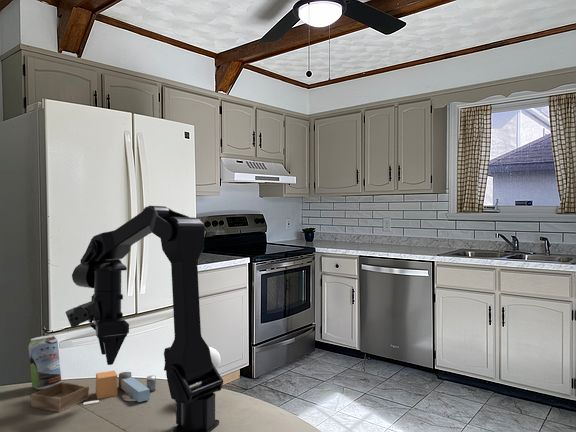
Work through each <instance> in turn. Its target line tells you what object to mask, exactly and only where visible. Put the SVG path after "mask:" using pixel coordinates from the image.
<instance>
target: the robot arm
mask: <svg viewBox="0 0 576 432" xmlns="http://www.w3.org/2000/svg"><path fill="white" fill-rule="evenodd" d="M150 234H153V235H155V236H156V237H158V238H159V239H160V243H161V250H162V252H163V253H164V254H165V257H166V258H167V259H168V261H169V262H170V266H171V270H170V271H171V286H172V287H171V289H172V309H173V311H172V312H173V328H174V339H173V342H172V344H171V345H170V346H169V347H165V348H164V351H163V357H164V358H163V359H164V368H163V371H164V372H166V374H165V375H166V380H167V385H168V390H169V394H170V398H171V399H172V400H174V401H175V424H176V426H174V427H173V428H172V432H211V431H212V430H213V429H214V428H215V427H217V426H218V425H219V424H220V420H219V419H216V392H219V391H222V388H223V385H224V380H223V377H222V375H220V373H219V371H218V370H216V368H215V366H214V365H213V363H212V360H211V354H210V349H209V347H210V346H209V345H208V344H207V343H206V341H205V340H204V338H203V336H202V327H201V308H200V290H199V286H200V285H199V276H198V275H199V271H198V267H199V266H198V261H199V259H200V257H201V255H202V253H203V251H204V249H205V238H206V228H205V224H204V223H203V222H202V221H201V220H200V219H199V218H198V217H192V216H191V217H190V216H188V215H185V214H183V213H180V212H177V211H174V210H173V209H171V208H169V207H167V206H163V205H147V206H145V207H144V208H143V209H142V211H141V212H140V213H138V214H137V215H135V216H133V217H132V218H131V219H129V220H128V221H126V222H125V223H123V224H122V225H121V226H119V227H117V228H116V229H114V230H111V231H106V232H100V233H99V234H95V235H94V236H92V238H91V239H90V241H89V244H88V245H87V248H86V250H85V253H83V256H82V257H81V259H80V263H79V264H78V265H77V266H75V267H74V269H73V272H72V274H71V277H72V278H71V279H72V282H73V283H74V284H75V285H76V286H77V287H82V288H88V289H90V288H91V289H93V294H92V295H91V298H90V299H91V301H89V302H85V303H83V304H79V305H78V306H76V307H73V308H70V309H68V310H66V311H65V314H66V317H67V320H68V322H69V324H70V328H76V327H78V326H80V324H82V323H85V322H88V323H89V326H90V328H92V329H93V330H94V331H95V335H96V337H97V339H98V342H99V343H98V344H99V347H100V353H101V355H104V356H105V359H106V364H107V366H112V365H113V364H114V363H115V360H116V358H117V356H118V354H119V352H120V349H121V347H122V345H123V343H124V341H125V339H126V337H128V334H129V333H130V324H129V323H128V321H126V320H125V319H124V317H123V315H124V314H123V312H122V300H124V295H123V294H122V272H124V271H127V270H128V268H127V266H126V265H125V264H124V263H123V262H122V259H124V258H125V257H126V256H127V254H129V253H130V252H131V247H132V246H133V245H134V244H136V243H137V242H138V241H140V240H143V239H144V238H145V237H147V236H149V235H150ZM200 382H202V383H201V384H200ZM195 384H196V385H195ZM193 385H194V386H193Z"/></svg>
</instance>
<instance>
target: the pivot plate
mask: <svg viewBox="0 0 576 432" xmlns="http://www.w3.org/2000/svg"><path fill="white" fill-rule="evenodd" d="M121 399H122V400H123V401H126V402H138V401H137V400H135V399H134V398H132V397H129V394H128V393H126V392H125V393H124V394H123V395H122V396H121Z"/></svg>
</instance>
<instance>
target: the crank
mask: <svg viewBox="0 0 576 432" xmlns="http://www.w3.org/2000/svg"><path fill="white" fill-rule="evenodd" d="M117 387H118V388H119V389H121V390H123V391H124V392H125V393H128V394H129V397H132V398H134V399H135V400H137V401H136V402H138V403H142V402H145V401H149V400H150V398H151V392H150V389H149V388H147V385H144V384H142V383H141V382H140V381H138V380H137V379H135V378H134V377H132V372H131V371H122V372H119V373H118V376H117Z"/></svg>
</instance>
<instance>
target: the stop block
mask: <svg viewBox="0 0 576 432" xmlns="http://www.w3.org/2000/svg"><path fill="white" fill-rule="evenodd" d="M95 395H96V398H97V400H99V399H104V398H105V399H106V398H110V397H116V396H118V374H117V372H116V370H109V371H103V372H96V373H95Z"/></svg>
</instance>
